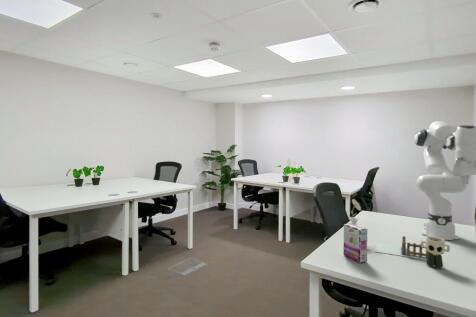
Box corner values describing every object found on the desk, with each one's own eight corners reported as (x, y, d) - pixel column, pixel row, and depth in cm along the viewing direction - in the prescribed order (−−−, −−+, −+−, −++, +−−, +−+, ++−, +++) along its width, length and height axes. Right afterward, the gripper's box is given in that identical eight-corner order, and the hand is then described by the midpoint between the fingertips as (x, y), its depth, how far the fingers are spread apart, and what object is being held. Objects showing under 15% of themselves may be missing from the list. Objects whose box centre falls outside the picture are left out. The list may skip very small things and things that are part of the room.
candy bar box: (367, 262, 131) (368, 228, 131) (359, 263, 130) (360, 229, 129) (350, 253, 142) (350, 222, 141) (342, 255, 140) (343, 223, 140)
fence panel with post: (401, 254, 142) (402, 240, 141) (429, 258, 136) (429, 244, 136) (401, 255, 140) (402, 241, 140) (429, 259, 135) (429, 245, 134)
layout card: (376, 243, 158) (376, 242, 158) (427, 250, 146) (428, 250, 146) (375, 252, 144) (375, 251, 144) (432, 261, 133) (432, 260, 133)
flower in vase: (365, 245, 154) (366, 202, 153) (343, 243, 158) (344, 200, 157) (362, 238, 166) (363, 198, 165) (342, 236, 170) (343, 197, 169)
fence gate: (405, 247, 149) (405, 236, 149) (405, 252, 141) (405, 241, 141) (402, 246, 150) (402, 236, 150) (402, 252, 142) (402, 241, 142)
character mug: (420, 266, 127) (421, 238, 126) (420, 261, 133) (420, 234, 132) (450, 272, 121) (450, 243, 120) (448, 266, 127) (449, 239, 126)
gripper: (464, 157, 129) (463, 186, 130) (481, 157, 140) (480, 183, 140) (449, 157, 135) (448, 184, 135) (466, 156, 145) (465, 182, 146)
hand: (465, 184), depth 138 cm, fingers closed
